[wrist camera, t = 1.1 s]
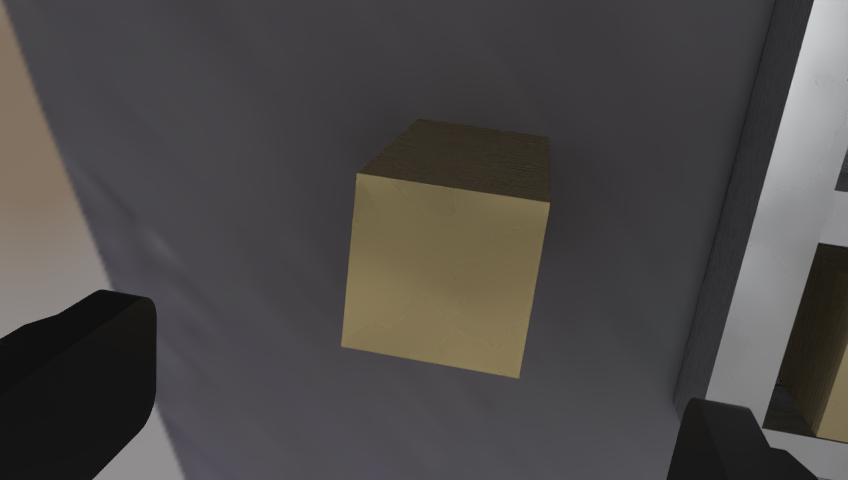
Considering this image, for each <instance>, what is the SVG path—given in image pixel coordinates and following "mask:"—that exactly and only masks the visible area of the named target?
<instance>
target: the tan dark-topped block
mask: <svg viewBox="0 0 848 480" xmlns="http://www.w3.org/2000/svg"><path fill="white" fill-rule="evenodd" d="M549 208H550V180H549V155H548V137H541V136H534V135H527V134H520V133H513V132H506V131H499V130H492V129H485V128H478V127H471V126H464V125H457V124H450V123H443V122H436V121H429V120H422V119H418V120H417V121H416V122H415V123H414V124H413V125H411V126H410V127H409V128H408V129H407V130H406V131H405V132H403V133H402V134H401V135H400V136H399V137H398V138H397V139H396V140H394V141H393V142H392V143H391V144H390V145H389V146H388V147H386V148H385V149H384V150H383V151H382V152H381V153H380V154H378V155H377V156H376V157H375V158H374V159H373V160H372V161H370V162H369V163H368V164H367V165H366V166H365V167H364V168H362V169H361V170H360V171H359V172H358V173H357V179H356V190H355V201H354V212H353V223H352V234H351V245H350V256H349V267H348V278H347V289H346V299H345V310H344V321H343V332H342V343H341V346H342V347H347V348H353V349H358V350H364V351H370V352H375V353H381V354H386V355H392V356H397V357H403V358H408V359H414V360H419V361H425V362H430V363H436V364H441V365H447V366H452V367H458V368H464V369H469V370H475V371H480V372H486V373H491V374H497V375H502V376H508V377H513V378H519V375H520V369H521V364H522V358H523V352H524V347H525V341H526V336H527V330H528V325H529V319H530V314H531V308H532V302H533V297H534V291H535V286H536V280H537V275H538V269H539V263H540V258H541V252H542V247H543V241H544V236H545V230H546V225H547V219H548V213H549Z"/></svg>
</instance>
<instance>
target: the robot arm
mask: <svg viewBox="0 0 848 480" xmlns="http://www.w3.org/2000/svg"><path fill="white" fill-rule="evenodd" d="M156 332H157V316H156V308H155V305H154V303H153V301H152V300H151V299H150V298H147V297H142V296H136V295H131V294H125V293H120V292H114V291H109V290H98V291H96V292H94V293H92V294H91V295H89V296H87V297H86V298H84V299H82V300H81V301H79V302H78V303H76V304H74V305H73V306H71V307H69V308H68V309H66V310H64V311H63V312H61V313H59V314H57V315H54V316H51V317H48V318H45V319H41V320H38V321H35V322H32V323H29V324H25V325H23V326H22V327H20V328H18V329H17V330H15V331H13V332H11V333H10V334H8V335H6V336H5V337H3V338H1V339H0V480H92V479H93V478H94V477H95V476H96V475H97V474H98V473H99V472H100V471H101V470H102V469H103V468H104V467H105V466H106V465H107V464H108V463H109V462H110V461H111V460H112V459H113V458H114V457H115V456H116V455H117V454H118V453H119V452H120V451H121V450H122V449H123V448H124V447H125V446H126V445H127V444H128V443H129V442H130V441H131V440H132V439H133V438H134V437H135V436H136V435H137V434H138V433H139V432H140V431H141V429H142V428H143V427H144V425H145V424H146V422H147V420H148V418H149V416H150V414H151V411H152V408H153V405H154V401H155V395H156ZM666 480H818V479H817V477H816V476H815V475H814V474H813V473H812V472H811V471H809V470H808V469H807V468H806V467H805V466H804V465H803V464H801V463H800V462H799V461H798V460H797V459H796V458H795V457H793V456H792V455H791V454H790V453H789V452H788V451H787V450H783V449H778V448H773V447H770V445H769V443H768V441H767V440H766V438H765V436H764V434H763V432H762V430H761V428H760V426H759V424H758V422H757V420H756V418H755V417H754V415H753V413H752V411H751V410H750V408H748V407H745V406H739V405H733V404H728V403H722V402H717V401H711V400H706V399H700V398H695V397H693V398H691V399H690V400H689V402H688V403H687V406H686V408H685V411H684V414H683V418H682V422H681V426H680V429H679V433H678V437H677V441H676V445H675V449H674V452H673V456H672V460H671V464H670V468H669V472H668V476H667V479H666Z"/></svg>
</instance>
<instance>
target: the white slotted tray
mask: <svg viewBox="0 0 848 480" xmlns="http://www.w3.org/2000/svg"><path fill="white" fill-rule="evenodd" d="M847 147H848V0H776V4H775V8H774V12H773V16H772V19H771V23H770V27H769V31H768V35H767V39H766V43H765V47H764V50H763V54H762V58H761V62H760V66H759V70H758V74H757V78H756V81H755V85H754V89H753V93H752V97H751V101H750V105H749V109H748V113H747V116H746V120H745V124H744V128H743V132H742V136H741V140H740V144H739V147H738V151H737V155H736V159H735V163H734V167H733V171H732V175H731V178H730V182H729V186H728V190H727V194H726V198H725V202H724V206H723V209H722V213H721V217H720V221H719V225H718V229H717V233H716V237H715V240H714V244H713V248H712V252H711V256H710V260H709V264H708V268H707V271H706V275H705V279H704V283H703V287H702V291H701V295H700V299H699V302H698V306H697V310H696V314H695V318H694V322H693V326H692V330H691V333H690V337H689V341H688V345H687V349H686V353H685V357H684V361H683V364H682V368H681V372H680V376H679V380H678V384H677V388H676V392H675V395H674V399H673V402H674V405H675V408H676V411H677V414H678V417H679V420H680V423H681V422H682V418H683V414H684V411H685V408H686V406H687V403H688V402H689V400H690V399H691V398H693V397H695V398H700V399H706V400H711V401H717V402H722V403H728V404H733V405H739V406H745V407H748V408H750V410H751V411H752V413H753V415H754V417H755V418H756V420H757V422H758V424H759V426H760V428H761V430H762V432H763V434H764V436H765V438H766V440H767V441H768V443H769V445H770V447H773V448H778V449H783V450H787V451H788V452H789V453H790V454H791V455H792V456H793V457H795V458H796V459H797V460H798V461H799V462H800V463H801V464H803V465H804V466H805V467H806V468H807V469H808V470H809V471H811V472H812V473H813V474H814V475H815V476H816V477H821V478H827V479H832V480H848V249H846V248H839V247H833V246H826V245H820V244H818V242H819V243H825V244H832V245H838V246H845V247H848V174H844V173H840V170H841V167H842V163H843V160H844V157H845V154H846V150H847ZM777 376H778V378H779V379H780V381H781V382H782V384H783V385H784V387H783V386H777V385H775V383H776V379H777Z"/></svg>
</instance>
